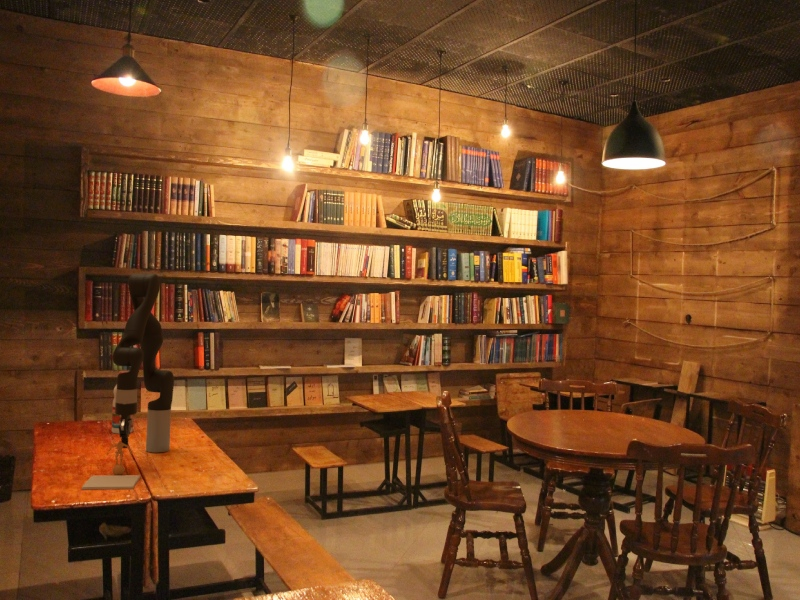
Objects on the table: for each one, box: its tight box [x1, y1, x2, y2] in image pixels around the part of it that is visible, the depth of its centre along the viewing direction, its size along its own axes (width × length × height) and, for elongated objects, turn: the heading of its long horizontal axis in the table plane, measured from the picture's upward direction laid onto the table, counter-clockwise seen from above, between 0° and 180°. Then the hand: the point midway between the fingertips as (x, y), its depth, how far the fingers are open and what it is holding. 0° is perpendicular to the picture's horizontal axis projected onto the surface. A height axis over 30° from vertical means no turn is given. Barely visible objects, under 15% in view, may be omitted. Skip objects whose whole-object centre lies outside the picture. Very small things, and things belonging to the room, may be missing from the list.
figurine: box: [106, 440, 133, 475], centre depth 254 cm, size 8×6×12 cm
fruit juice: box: [111, 370, 135, 435], centre depth 330 cm, size 9×9×28 cm
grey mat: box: [80, 474, 141, 491], centre depth 243 cm, size 15×16×1 cm
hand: (124, 447), depth 264 cm, fingers closed
